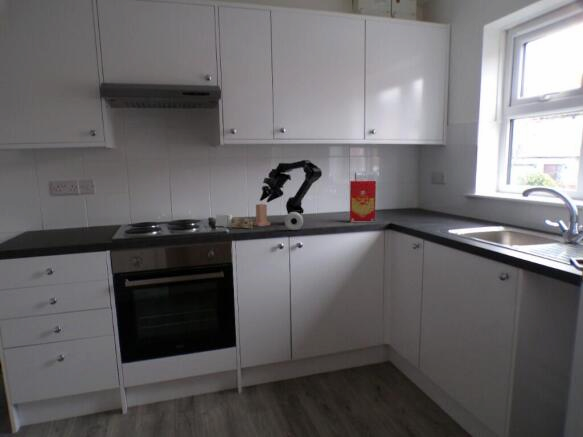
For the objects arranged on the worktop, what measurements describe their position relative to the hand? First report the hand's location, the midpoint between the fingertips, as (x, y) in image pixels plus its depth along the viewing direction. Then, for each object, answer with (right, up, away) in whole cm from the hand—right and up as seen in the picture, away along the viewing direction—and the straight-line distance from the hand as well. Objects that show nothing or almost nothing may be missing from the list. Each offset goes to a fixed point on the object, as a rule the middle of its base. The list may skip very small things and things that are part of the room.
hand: (263, 201), depth 221 cm
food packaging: (+60, -13, +7) cm, 62 cm away
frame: (-22, -15, -8) cm, 28 cm away
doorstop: (-1, -14, -2) cm, 14 cm away
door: (-11, -15, -13) cm, 23 cm away
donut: (+18, -17, -21) cm, 32 cm away
